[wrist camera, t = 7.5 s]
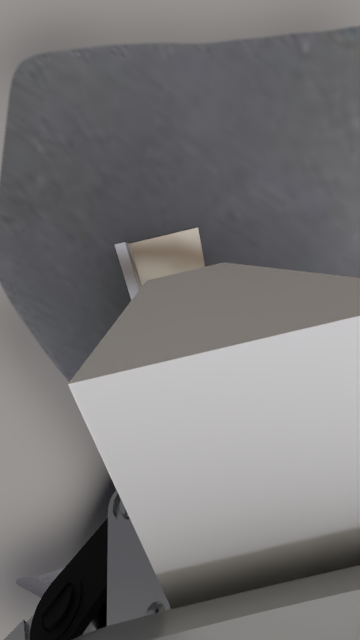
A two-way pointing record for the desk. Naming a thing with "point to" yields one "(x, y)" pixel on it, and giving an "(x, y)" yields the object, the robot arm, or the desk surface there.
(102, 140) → the desk surface
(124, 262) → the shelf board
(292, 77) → the desk surface
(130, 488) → the carton
